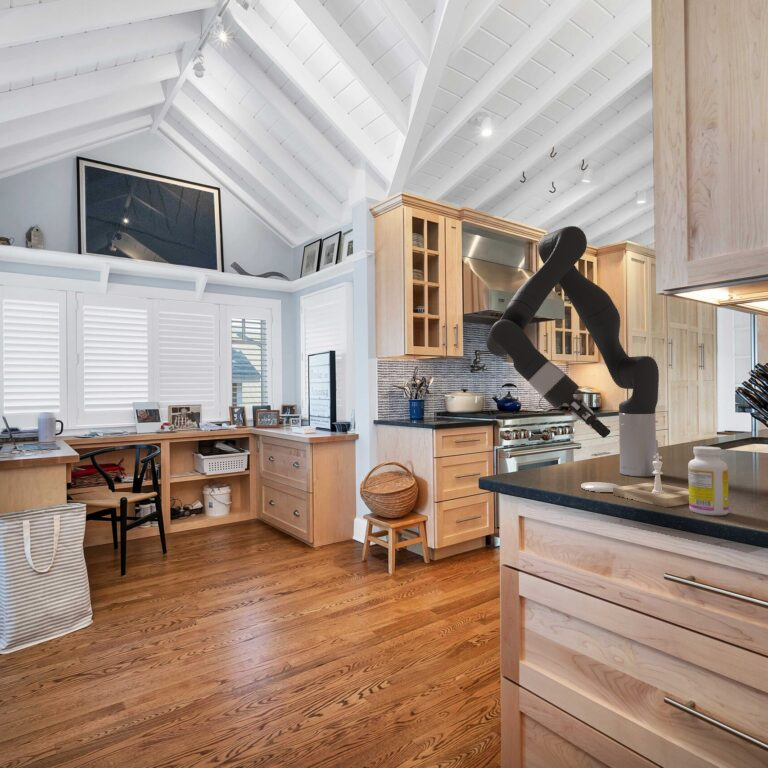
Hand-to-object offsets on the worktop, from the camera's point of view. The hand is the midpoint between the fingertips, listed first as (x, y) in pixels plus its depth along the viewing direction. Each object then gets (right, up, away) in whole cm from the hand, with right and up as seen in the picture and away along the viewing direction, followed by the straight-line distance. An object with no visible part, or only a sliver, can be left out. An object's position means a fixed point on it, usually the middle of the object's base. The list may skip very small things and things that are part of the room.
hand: (606, 433), depth 117 cm
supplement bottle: (+13, -14, -17) cm, 25 cm away
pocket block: (+10, -14, -4) cm, 18 cm away
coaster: (+2, -14, +7) cm, 16 cm away
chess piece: (+10, -14, -4) cm, 18 cm away
